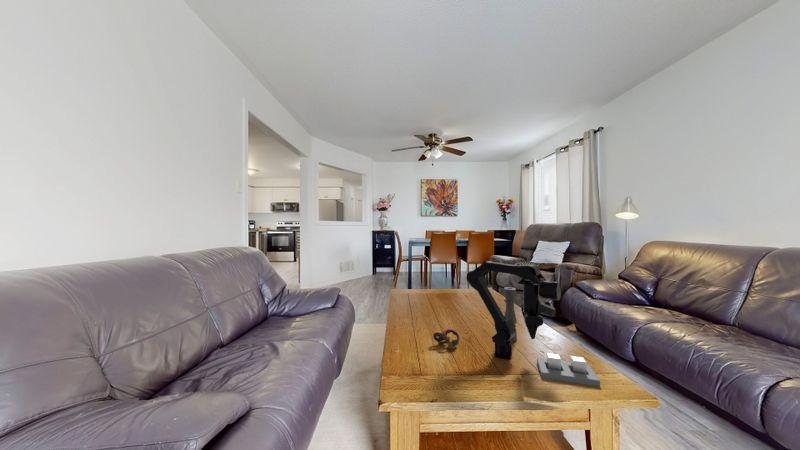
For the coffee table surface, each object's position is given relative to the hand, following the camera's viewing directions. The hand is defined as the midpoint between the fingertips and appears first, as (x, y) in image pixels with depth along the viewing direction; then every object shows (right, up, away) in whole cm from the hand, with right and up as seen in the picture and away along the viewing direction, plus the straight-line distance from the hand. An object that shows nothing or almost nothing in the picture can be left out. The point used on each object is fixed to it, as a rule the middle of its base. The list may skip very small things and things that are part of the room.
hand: (531, 334), depth 114 cm
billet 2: (+12, -11, -11) cm, 20 cm away
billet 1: (+5, -11, -8) cm, 14 cm away
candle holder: (+1, -12, +26) cm, 29 cm away
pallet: (+9, -12, -9) cm, 17 cm away
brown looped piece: (-31, -13, +19) cm, 39 cm away
